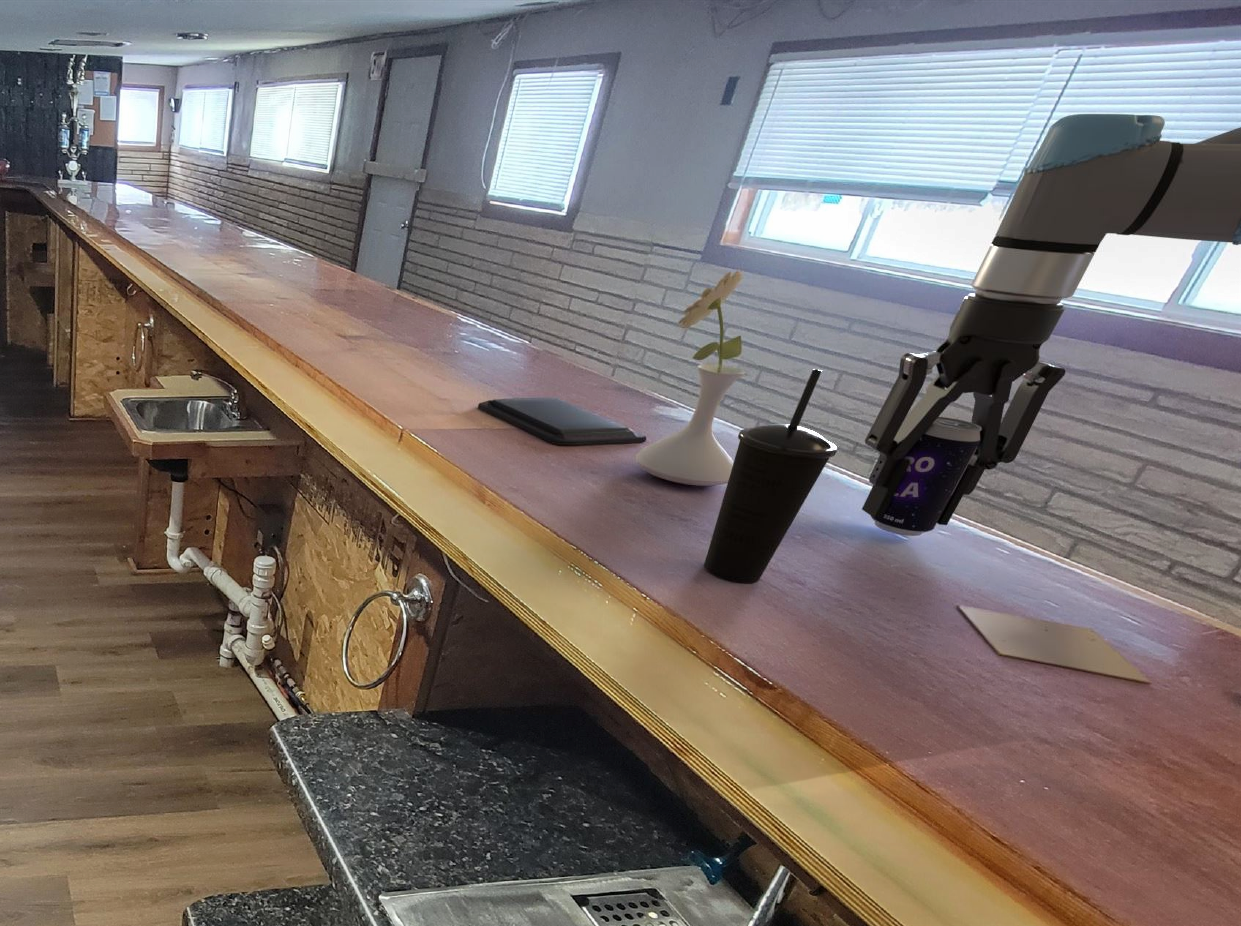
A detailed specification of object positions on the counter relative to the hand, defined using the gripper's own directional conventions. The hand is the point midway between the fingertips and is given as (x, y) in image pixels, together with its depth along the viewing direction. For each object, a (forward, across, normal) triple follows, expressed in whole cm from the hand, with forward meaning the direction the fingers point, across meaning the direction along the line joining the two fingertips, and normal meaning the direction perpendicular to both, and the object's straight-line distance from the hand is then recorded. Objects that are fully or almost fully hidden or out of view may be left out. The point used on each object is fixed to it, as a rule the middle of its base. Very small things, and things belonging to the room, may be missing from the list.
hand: (903, 516), depth 98 cm
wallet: (+2, +29, -34) cm, 45 cm away
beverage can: (+2, 0, 0) cm, 2 cm away
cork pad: (+2, 0, +25) cm, 25 cm away
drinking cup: (+2, +23, +17) cm, 28 cm away
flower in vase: (+2, +19, -13) cm, 23 cm away
